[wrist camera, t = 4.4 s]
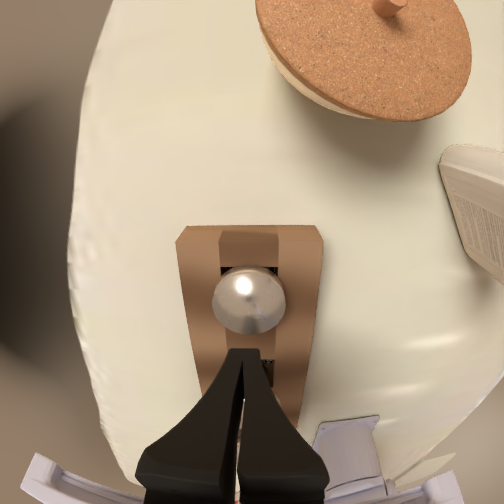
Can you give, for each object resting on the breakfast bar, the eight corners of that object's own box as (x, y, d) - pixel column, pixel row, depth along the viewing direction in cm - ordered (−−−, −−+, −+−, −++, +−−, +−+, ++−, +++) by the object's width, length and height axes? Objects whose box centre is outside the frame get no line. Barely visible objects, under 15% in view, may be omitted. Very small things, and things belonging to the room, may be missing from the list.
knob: (280, 297, 22) (283, 334, 18) (222, 297, 22) (215, 333, 18) (281, 244, 20) (287, 273, 16) (219, 244, 20) (208, 273, 16)
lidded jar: (406, 135, 17) (497, 148, 8) (255, 117, 17) (250, 101, 8) (402, 8, 12) (470, -37, 4) (258, -17, 12) (255, -98, 4)
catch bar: (292, 417, 29) (294, 437, 26) (215, 416, 29) (212, 436, 26) (314, 225, 20) (323, 241, 17) (186, 226, 20) (175, 241, 17)
